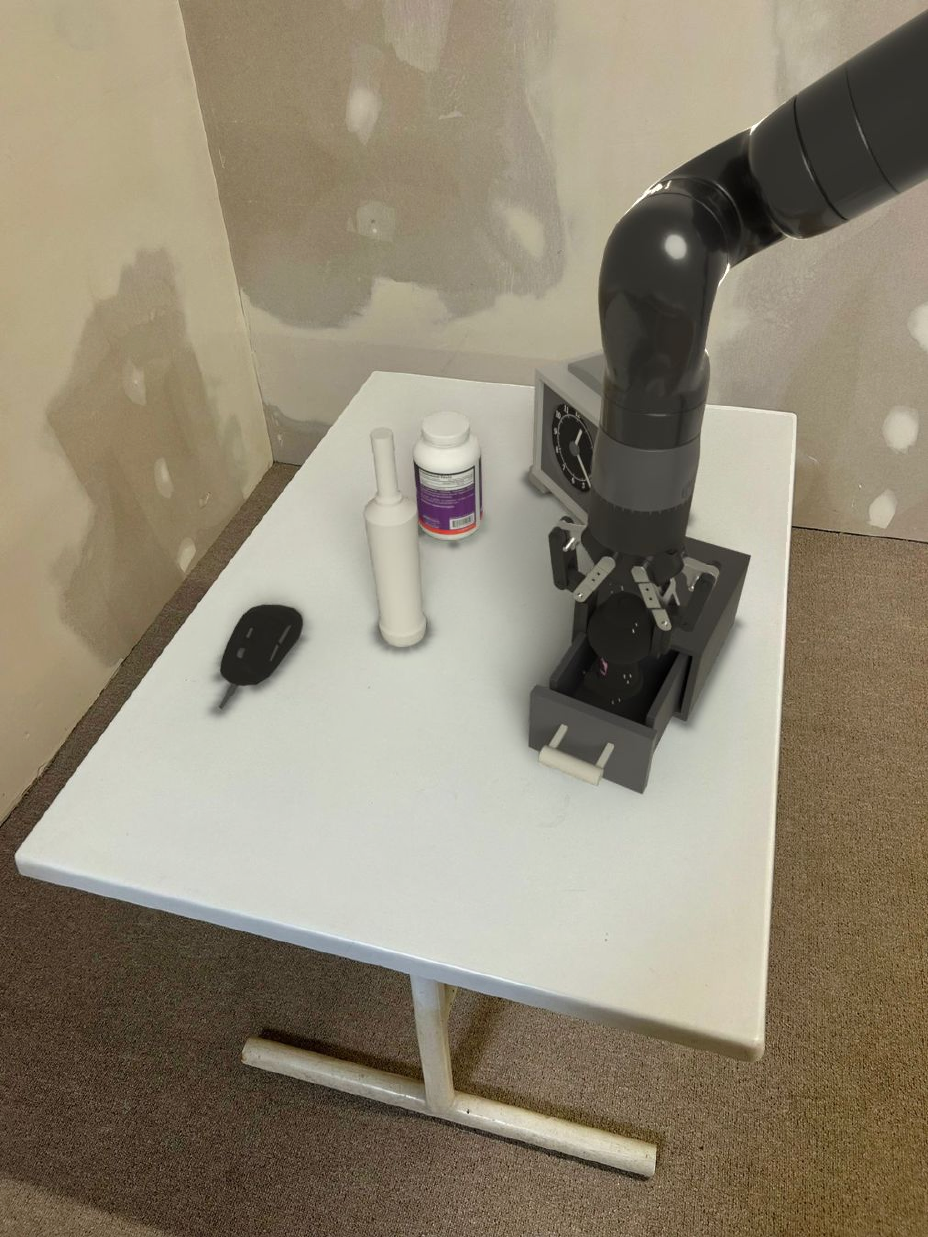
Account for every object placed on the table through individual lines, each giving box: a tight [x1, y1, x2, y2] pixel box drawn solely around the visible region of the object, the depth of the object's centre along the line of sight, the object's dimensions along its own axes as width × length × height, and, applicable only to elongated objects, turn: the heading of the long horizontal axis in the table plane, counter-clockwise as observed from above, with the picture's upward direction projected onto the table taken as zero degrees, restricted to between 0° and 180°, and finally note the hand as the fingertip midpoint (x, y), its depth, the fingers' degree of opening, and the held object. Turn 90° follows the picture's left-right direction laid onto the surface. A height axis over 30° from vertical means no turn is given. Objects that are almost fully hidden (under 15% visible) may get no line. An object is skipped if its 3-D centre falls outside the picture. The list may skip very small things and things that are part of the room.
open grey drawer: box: [527, 632, 693, 795], centre depth 80 cm, size 19×11×8 cm, turn 151°
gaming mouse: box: [218, 603, 304, 710], centre depth 91 cm, size 6×15×4 cm, turn 161°
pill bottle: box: [412, 411, 484, 541], centre depth 103 cm, size 8×8×14 cm
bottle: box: [362, 426, 427, 648], centre depth 86 cm, size 5×5×25 cm
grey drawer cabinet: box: [570, 535, 752, 722], centre depth 88 cm, size 16×13×10 cm
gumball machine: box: [583, 583, 656, 706], centre depth 75 cm, size 7×6×10 cm
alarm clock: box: [528, 348, 606, 526], centre depth 105 cm, size 18×13×18 cm
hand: (621, 638), depth 75 cm, fingers closed on gumball machine, 6 cm apart
